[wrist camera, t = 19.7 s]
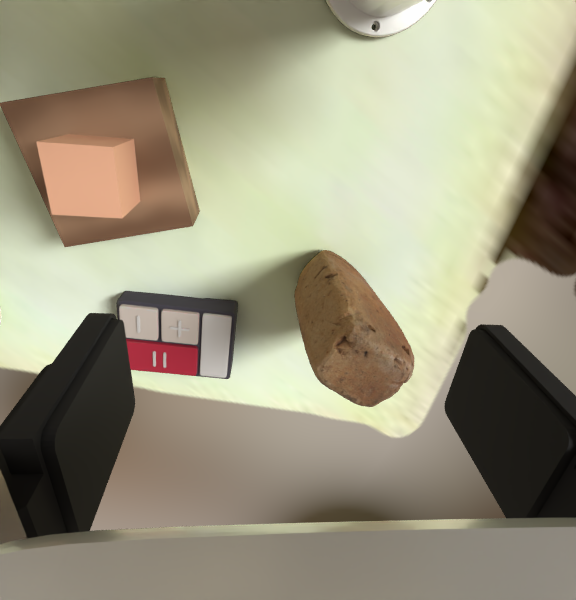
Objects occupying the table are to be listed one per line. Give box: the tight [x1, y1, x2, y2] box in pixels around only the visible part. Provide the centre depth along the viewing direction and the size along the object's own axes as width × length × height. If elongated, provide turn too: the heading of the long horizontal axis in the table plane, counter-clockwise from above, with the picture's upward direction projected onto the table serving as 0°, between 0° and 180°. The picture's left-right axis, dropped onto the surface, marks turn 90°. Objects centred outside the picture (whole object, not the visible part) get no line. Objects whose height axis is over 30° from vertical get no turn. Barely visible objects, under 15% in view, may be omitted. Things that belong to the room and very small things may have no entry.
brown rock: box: [294, 250, 414, 407], centre depth 44 cm, size 11×8×20 cm
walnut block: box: [0, 77, 200, 247], centre depth 41 cm, size 14×14×6 cm
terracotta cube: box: [36, 134, 140, 218], centre depth 36 cm, size 6×6×6 cm
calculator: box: [117, 291, 238, 379], centre depth 53 cm, size 11×4×15 cm
